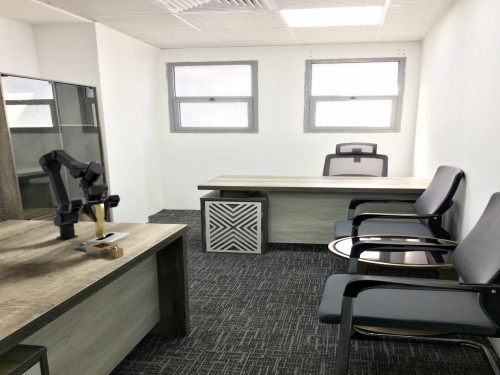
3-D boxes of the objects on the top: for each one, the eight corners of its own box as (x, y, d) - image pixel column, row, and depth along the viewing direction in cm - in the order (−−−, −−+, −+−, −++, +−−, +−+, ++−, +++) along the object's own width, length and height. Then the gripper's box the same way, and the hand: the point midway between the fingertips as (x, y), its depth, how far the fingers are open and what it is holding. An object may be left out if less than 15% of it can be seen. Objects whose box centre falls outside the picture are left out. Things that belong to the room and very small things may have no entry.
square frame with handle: (70, 249, 152) (70, 241, 151) (88, 244, 159) (88, 236, 158) (110, 260, 140) (110, 251, 139) (128, 253, 147) (127, 245, 147)
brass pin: (94, 236, 147) (91, 204, 144) (101, 234, 150) (99, 203, 148) (100, 238, 145) (98, 205, 143) (107, 236, 148) (105, 204, 146)
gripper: (68, 179, 140) (79, 213, 134) (117, 175, 152) (129, 206, 146) (64, 196, 148) (74, 229, 141) (111, 191, 160) (122, 221, 153)
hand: (101, 221), depth 145 cm, fingers closed on brass pin, 4 cm apart
